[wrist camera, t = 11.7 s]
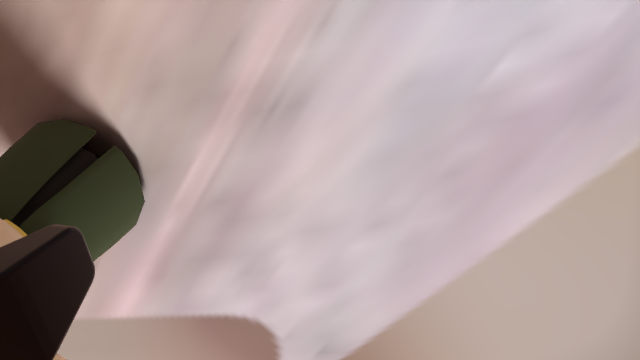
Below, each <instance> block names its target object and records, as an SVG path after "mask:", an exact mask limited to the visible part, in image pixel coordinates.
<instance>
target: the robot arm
mask: <svg viewBox="0 0 640 360" xmlns="http://www.w3.org/2000/svg"><path fill="white" fill-rule="evenodd" d="M94 275H95V266H94V263H93V260H92V258H91V255H90V252H89V249H88V247H87V244H86V241H85V239H84V236H83V234H82V232H81V231H80V230H79V229H78V228H76V227H74V226H66V225H58V224H54V225H50V226H47V227H45V228H43V229H40V230H38V231H36V232H34V233H31V234H29V235H27V236H25V237H22V238H20V239H18V240H16V241H13V242H11V243H9V244H7V245H4V246H2V247H0V360H53V359H54V357H55V355H56V353H57V351H58V350H59V348H60V345H61V344H62V342H63V339H64V337H65V336H66V333H67V332H68V330H69V328H70V326H71V323H72V322H73V320H74V318H75V316H76V314H77V312H78V310H79V308H80V306H81V304H82V302H83V300H84V298H85V296H86V294H87V292H88V290H89V288H90V286H91V284H92V282H93V279H94Z"/></svg>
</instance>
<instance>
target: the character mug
mask: <svg viewBox="0 0 640 360" xmlns="http://www.w3.org/2000/svg"><path fill="white" fill-rule="evenodd" d="M96 133H97V132H96V131H94V130H93V129H92V128H91V127H88V126H84V125H81V124H77V123H74V122H71V121H67V120H64V119H61V120H55V121H49V122H43V123H38V124H37V125H35V126H34V127H33V128H32V129H31V130H30V131H29V132H27V133H26V134H25V135H24V136H23V137H22V138H21V139H19V140H18V141H17V142H16V143H15V144H14V145H12V146H11V147H10V148H9V149H8V150H7V151H6V152H5V153H4V154H3V155H2V156H1V157H0V247H2V246H4V245H7V244H9V243H11V242H13V241H16V240H18V239H20V238H22V237H25V236H27V235H29V234H31V233H34V232H36V231H38V230H40V229H43V228H45V227H47V226H50V225H54V224H58V225H66V226H74V227H76V228H78V229H79V230H80V231H81V232H82V234H83V236H84V239H85V241H86V244H87V247H88V249H89V252H90V255H91V258H92V260H93V261H95V260H96V259H97V258H98V257H100V256H101V255H102V254H103V253H105V252H106V251H107V250H108V249H109V248H111V247H112V246H113V245H114V244H115V243H116V242H118V241H119V240H120V239H121V238H122V237H123V236H124V235H125V234H126V233H127V232H129V231H130V230H131V229H132V228H133V227H134V226H135V225H136V223H137V221H138V218H139V215H140V212H141V210H142V207H143V204H144V202H145V201H144V196H143V192H142V188H141V184H140V180H139V175H138V174H137V172H136V171H135V169H134V168H133V166H132V165H131V164H130V162H129V161H128V159H127V158H126V156H125V155H124V153H123V152H122V151H121V150H120V149H119V148H117V147H116V146H113V147H112V148H111V149H109V150H108V151H107V152H106V153H105V154H103V155H102V156H101V157H100V158H99V159H97V158H96V156H95V155H94V154H92V153H90V152H88V151H86V150H84V149H82V148H81V147H82V146H83V145H85V144H86V143H87V142H88V141H89V140H90V139H91V138H92V137H93V136H94V135H95V134H96ZM53 360H66V359H65V358H63V357H61V356H60V355H59V354H57V353H56V355H55V357H54V359H53Z"/></svg>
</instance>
